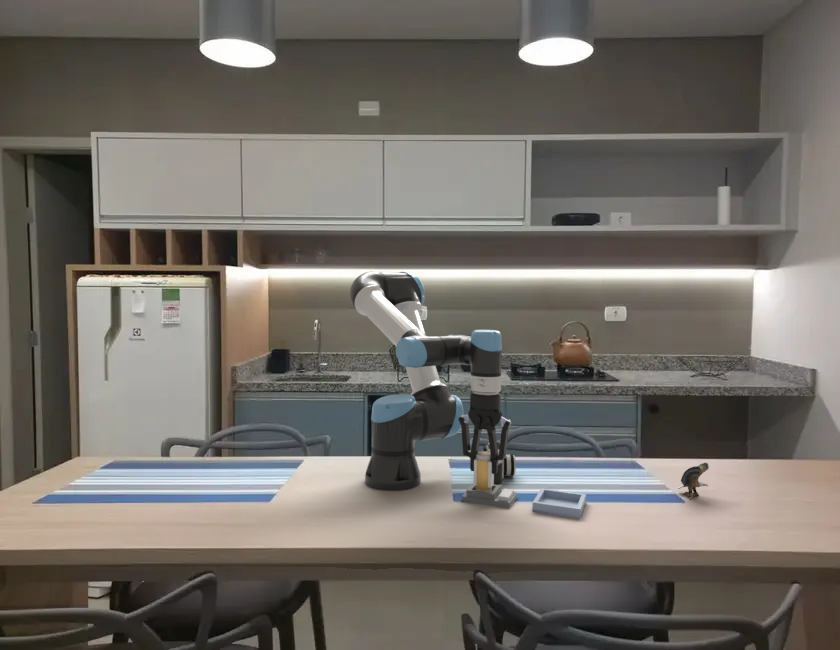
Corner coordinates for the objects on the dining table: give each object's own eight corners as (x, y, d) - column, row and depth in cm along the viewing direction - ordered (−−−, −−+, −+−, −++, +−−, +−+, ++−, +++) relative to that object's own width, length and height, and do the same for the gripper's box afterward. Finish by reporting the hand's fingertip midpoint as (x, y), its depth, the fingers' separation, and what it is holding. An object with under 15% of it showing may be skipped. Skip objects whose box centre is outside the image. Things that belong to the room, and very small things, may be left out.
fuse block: (461, 502, 145) (461, 490, 145) (471, 492, 152) (471, 480, 152) (509, 509, 140) (509, 497, 140) (516, 498, 148) (517, 486, 148)
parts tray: (532, 512, 138) (532, 502, 138) (541, 497, 149) (541, 488, 148) (580, 520, 134) (580, 509, 134) (585, 504, 144) (586, 494, 144)
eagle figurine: (707, 503, 146) (708, 468, 145) (675, 498, 149) (677, 463, 149) (708, 494, 152) (709, 460, 152) (678, 489, 156) (679, 456, 155)
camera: (519, 487, 156) (519, 450, 156) (486, 487, 157) (487, 450, 156) (511, 470, 172) (511, 436, 172) (481, 469, 172) (482, 436, 172)
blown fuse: (473, 494, 146) (474, 454, 145) (478, 489, 150) (478, 450, 149) (489, 496, 144) (489, 456, 144) (493, 491, 148) (494, 452, 148)
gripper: (450, 392, 145) (448, 485, 146) (513, 397, 139) (511, 494, 140) (459, 387, 152) (458, 476, 153) (520, 392, 146) (518, 484, 147)
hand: (483, 484), depth 147 cm, fingers closed on blown fuse, 3 cm apart
